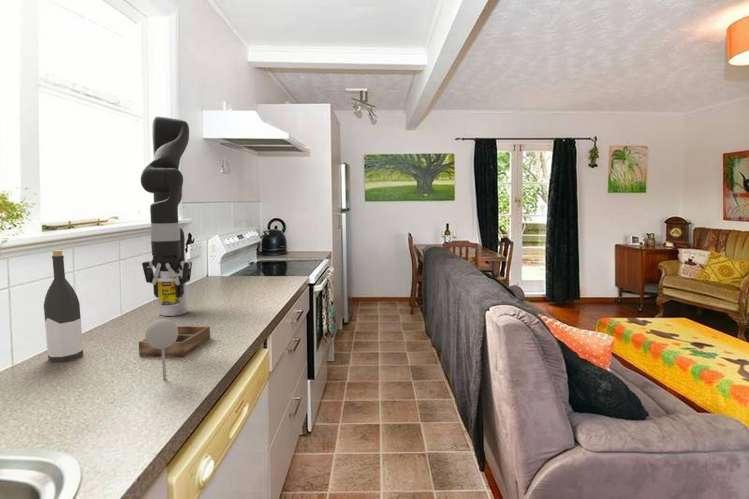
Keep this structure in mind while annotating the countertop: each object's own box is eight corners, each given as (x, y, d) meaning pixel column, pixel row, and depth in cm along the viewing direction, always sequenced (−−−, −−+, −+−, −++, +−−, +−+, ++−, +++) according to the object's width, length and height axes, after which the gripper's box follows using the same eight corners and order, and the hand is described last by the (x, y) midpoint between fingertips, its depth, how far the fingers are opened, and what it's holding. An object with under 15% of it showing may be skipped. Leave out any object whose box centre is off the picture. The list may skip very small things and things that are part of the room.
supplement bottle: (160, 308, 120) (158, 272, 119) (157, 304, 125) (155, 270, 124) (181, 306, 123) (179, 271, 122) (178, 302, 128) (176, 268, 127)
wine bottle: (90, 354, 122) (82, 249, 119) (61, 364, 114) (52, 252, 111) (70, 351, 125) (61, 248, 121) (40, 360, 117) (31, 251, 114)
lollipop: (155, 374, 108) (152, 315, 106) (185, 373, 108) (181, 315, 107) (143, 386, 101) (139, 323, 99) (174, 385, 101) (170, 323, 100)
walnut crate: (139, 355, 121) (138, 341, 120) (171, 337, 137) (170, 325, 136) (183, 357, 120) (182, 343, 119) (210, 338, 135) (209, 326, 135)
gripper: (196, 238, 125) (199, 294, 127) (149, 237, 126) (153, 294, 128) (183, 240, 118) (186, 300, 120) (133, 240, 119) (137, 299, 121)
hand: (169, 297), depth 124 cm, fingers closed on supplement bottle, 5 cm apart
